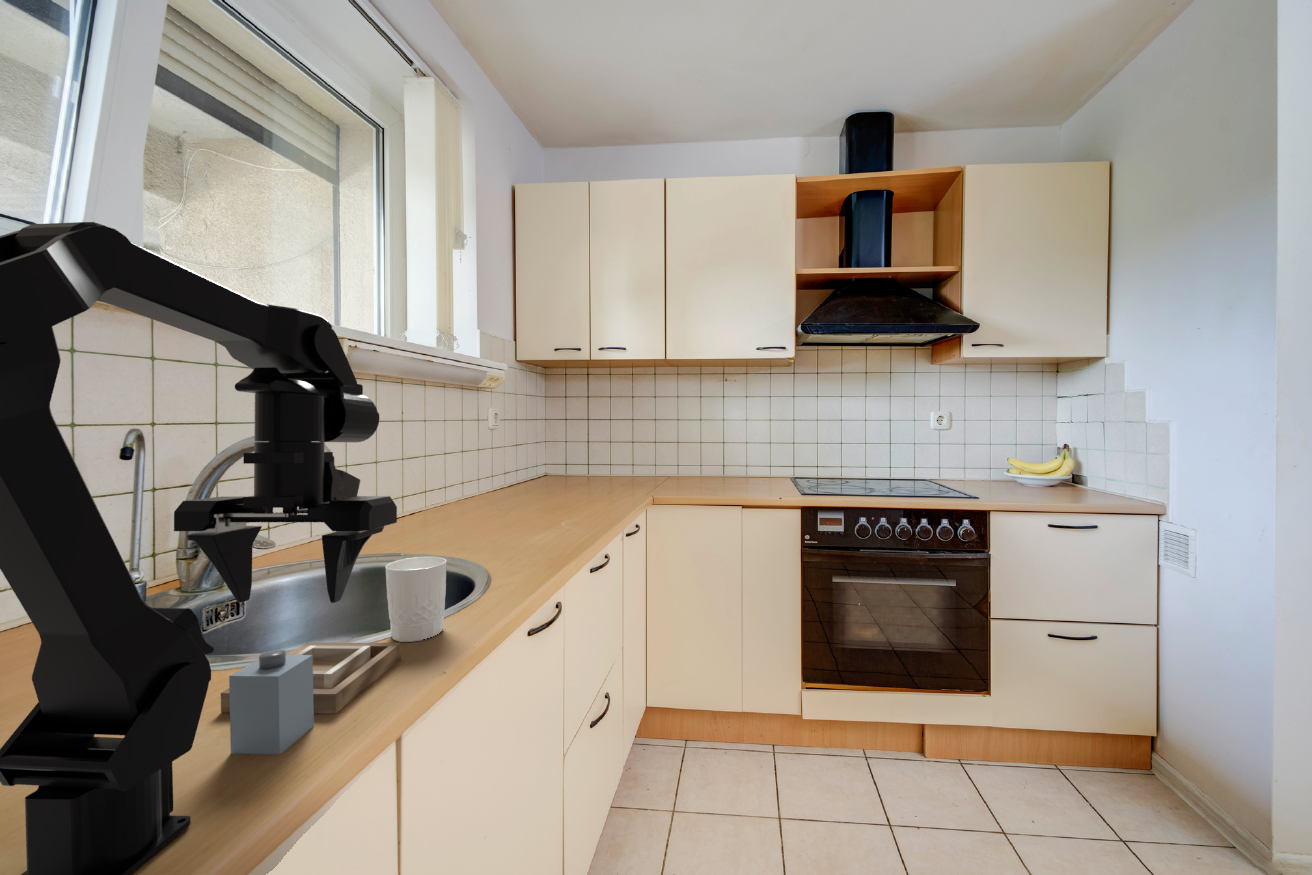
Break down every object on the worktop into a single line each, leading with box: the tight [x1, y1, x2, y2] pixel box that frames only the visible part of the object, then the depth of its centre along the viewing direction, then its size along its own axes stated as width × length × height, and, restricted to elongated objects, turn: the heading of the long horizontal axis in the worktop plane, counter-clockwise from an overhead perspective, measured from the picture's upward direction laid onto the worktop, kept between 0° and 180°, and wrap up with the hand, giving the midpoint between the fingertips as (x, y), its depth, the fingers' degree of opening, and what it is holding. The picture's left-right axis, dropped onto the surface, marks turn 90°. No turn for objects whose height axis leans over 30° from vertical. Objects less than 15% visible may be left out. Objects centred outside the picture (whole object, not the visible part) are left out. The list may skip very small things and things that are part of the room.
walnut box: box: [220, 641, 402, 715], centre depth 61 cm, size 13×12×2 cm
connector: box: [228, 649, 315, 755], centre depth 50 cm, size 4×4×8 cm
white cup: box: [385, 556, 448, 643], centre depth 76 cm, size 8×8×10 cm
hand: (289, 601), depth 53 cm, fingers open, 9 cm apart
